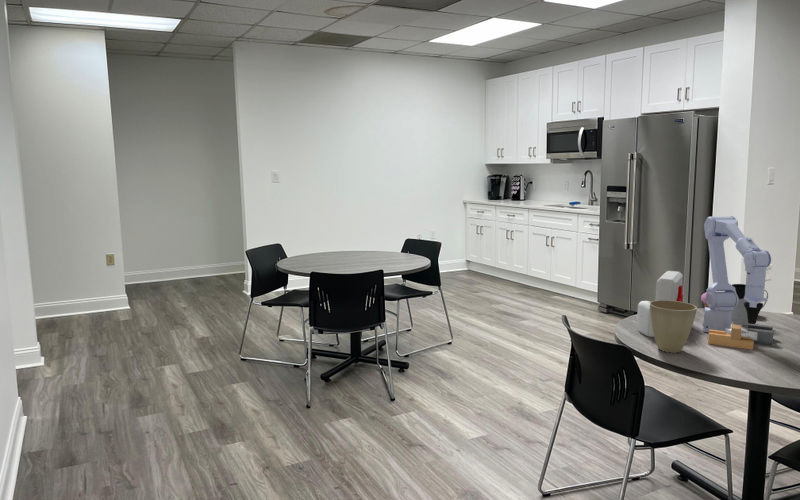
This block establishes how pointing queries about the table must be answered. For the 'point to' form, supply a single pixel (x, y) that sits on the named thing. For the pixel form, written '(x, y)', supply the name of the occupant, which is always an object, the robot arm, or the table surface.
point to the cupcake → (704, 300)
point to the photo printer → (644, 319)
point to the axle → (744, 334)
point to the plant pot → (671, 323)
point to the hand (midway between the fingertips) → (751, 323)
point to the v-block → (762, 333)
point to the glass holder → (741, 306)
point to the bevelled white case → (669, 287)
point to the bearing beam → (730, 338)
